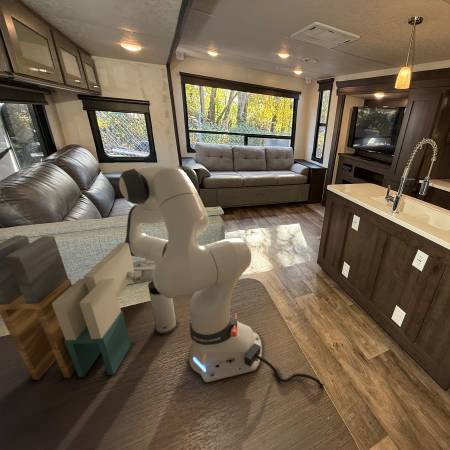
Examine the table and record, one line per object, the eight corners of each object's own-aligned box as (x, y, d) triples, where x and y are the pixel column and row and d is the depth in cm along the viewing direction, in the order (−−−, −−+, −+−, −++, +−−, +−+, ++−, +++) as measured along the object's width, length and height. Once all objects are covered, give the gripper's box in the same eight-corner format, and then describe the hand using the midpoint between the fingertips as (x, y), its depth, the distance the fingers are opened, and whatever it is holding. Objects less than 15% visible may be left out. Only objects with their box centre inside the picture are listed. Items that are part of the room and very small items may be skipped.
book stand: (92, 346, 78) (55, 236, 62) (70, 377, 69) (20, 256, 53) (60, 348, 76) (14, 235, 61) (32, 379, 67) (-30, 256, 52)
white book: (135, 274, 88) (128, 242, 83) (104, 313, 71) (93, 276, 65) (128, 274, 87) (120, 242, 82) (95, 314, 70) (83, 276, 65)
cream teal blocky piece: (130, 345, 79) (114, 278, 69) (113, 374, 70) (91, 302, 60) (99, 346, 78) (78, 278, 68) (78, 376, 69) (49, 303, 59)
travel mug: (169, 336, 84) (161, 288, 76) (151, 331, 85) (142, 284, 77) (180, 322, 89) (174, 277, 82) (164, 318, 90) (157, 273, 83)
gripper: (113, 263, 94) (89, 265, 81) (170, 263, 97) (156, 265, 84) (112, 279, 94) (87, 284, 80) (169, 279, 97) (155, 283, 83)
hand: (123, 274), depth 82 cm, fingers closed on white book, 2 cm apart
